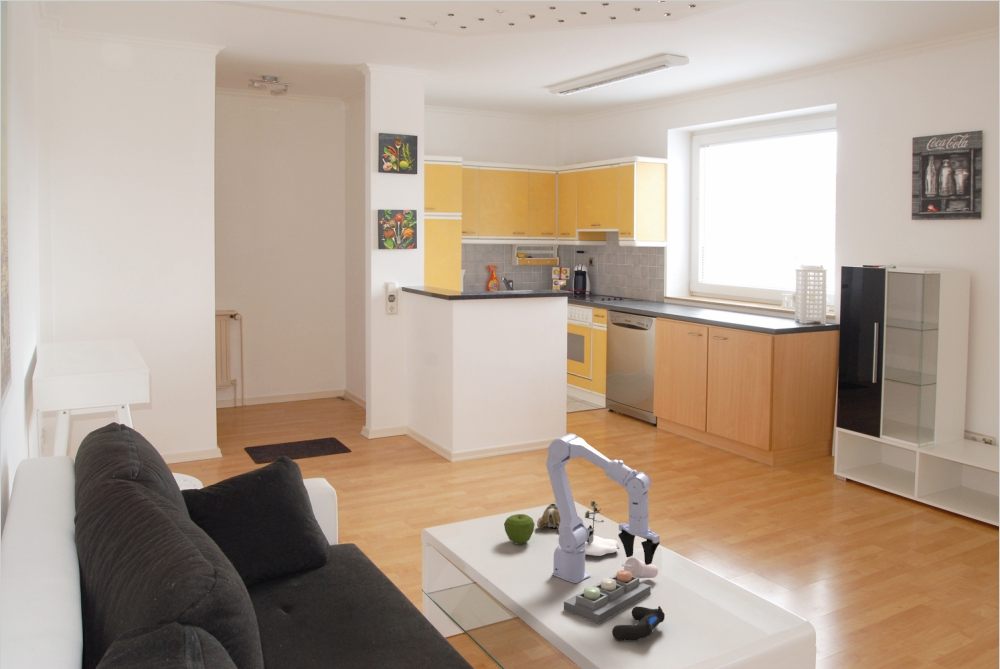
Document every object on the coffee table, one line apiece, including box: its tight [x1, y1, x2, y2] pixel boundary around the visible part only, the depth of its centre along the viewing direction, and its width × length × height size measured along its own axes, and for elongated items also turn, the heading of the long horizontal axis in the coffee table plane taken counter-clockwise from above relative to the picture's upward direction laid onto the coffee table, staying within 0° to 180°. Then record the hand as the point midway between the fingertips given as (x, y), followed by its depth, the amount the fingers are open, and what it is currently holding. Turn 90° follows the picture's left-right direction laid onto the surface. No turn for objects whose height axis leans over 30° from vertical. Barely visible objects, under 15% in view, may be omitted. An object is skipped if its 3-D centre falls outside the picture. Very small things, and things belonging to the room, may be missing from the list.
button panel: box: [563, 573, 652, 625], centre depth 223 cm, size 12×26×4 cm, turn 137°
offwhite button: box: [600, 578, 616, 592], centre depth 223 cm, size 4×4×2 cm
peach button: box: [616, 570, 632, 583], centre depth 229 cm, size 4×4×2 cm
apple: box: [503, 513, 535, 545], centre depth 269 cm, size 11×10×10 cm
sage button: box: [583, 586, 600, 601], centre depth 217 cm, size 4×4×2 cm
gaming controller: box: [611, 605, 666, 642], centre depth 206 cm, size 17×6×10 cm
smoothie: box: [621, 556, 659, 579], centre depth 236 cm, size 6×6×14 cm
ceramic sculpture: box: [536, 500, 561, 529], centre depth 285 cm, size 11×9×15 cm
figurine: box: [584, 500, 620, 557], centre depth 264 cm, size 20×18×16 cm
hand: (638, 560), depth 229 cm, fingers open, 7 cm apart
